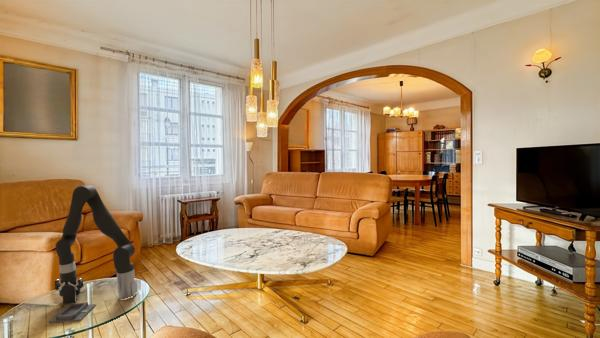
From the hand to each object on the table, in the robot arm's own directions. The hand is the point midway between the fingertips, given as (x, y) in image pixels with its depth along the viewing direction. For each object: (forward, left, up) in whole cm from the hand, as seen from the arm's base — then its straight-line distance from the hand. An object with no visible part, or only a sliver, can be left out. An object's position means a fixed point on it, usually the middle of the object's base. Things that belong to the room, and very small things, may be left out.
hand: (70, 295), depth 170 cm
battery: (0, 0, -4) cm, 4 cm away
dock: (-9, +13, -4) cm, 17 cm away
